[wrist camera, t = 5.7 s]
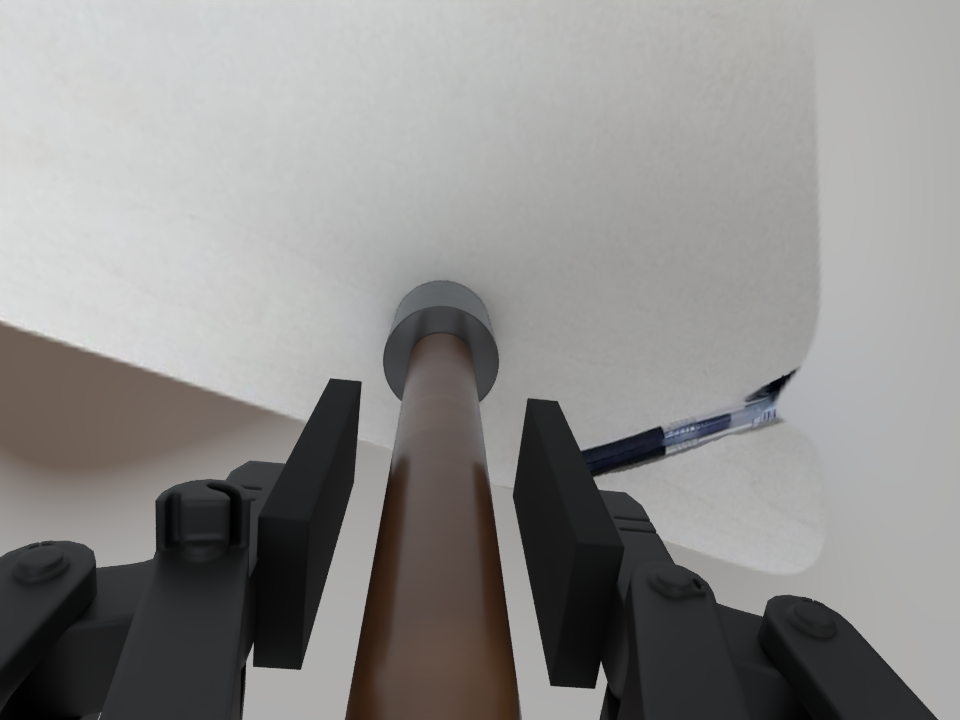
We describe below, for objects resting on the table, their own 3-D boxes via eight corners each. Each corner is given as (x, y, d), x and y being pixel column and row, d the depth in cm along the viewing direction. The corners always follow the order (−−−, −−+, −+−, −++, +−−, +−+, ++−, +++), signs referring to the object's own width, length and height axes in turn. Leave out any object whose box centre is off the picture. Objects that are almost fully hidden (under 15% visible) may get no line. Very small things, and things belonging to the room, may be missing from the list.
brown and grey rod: (495, 286, 27) (660, 706, 6) (483, 378, 29) (590, 993, 8) (398, 274, 27) (233, 681, 6) (389, 368, 28) (226, 984, 7)
